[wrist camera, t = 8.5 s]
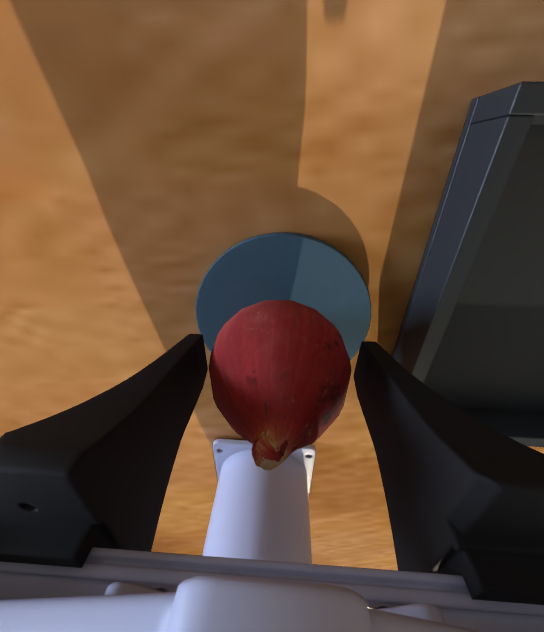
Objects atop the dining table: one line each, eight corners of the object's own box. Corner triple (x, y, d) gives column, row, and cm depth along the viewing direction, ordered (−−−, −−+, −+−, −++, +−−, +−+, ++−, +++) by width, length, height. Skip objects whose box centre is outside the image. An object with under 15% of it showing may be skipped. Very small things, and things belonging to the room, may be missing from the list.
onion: (341, 274, 13) (404, 402, 6) (328, 364, 16) (359, 522, 9) (224, 271, 13) (153, 391, 6) (232, 361, 16) (190, 510, 9)
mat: (352, 384, 17) (354, 390, 17) (207, 377, 17) (205, 382, 17) (387, 235, 12) (391, 237, 12) (186, 229, 13) (182, 231, 12)
